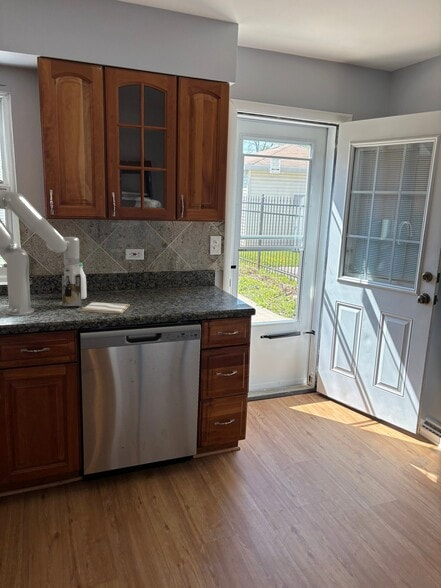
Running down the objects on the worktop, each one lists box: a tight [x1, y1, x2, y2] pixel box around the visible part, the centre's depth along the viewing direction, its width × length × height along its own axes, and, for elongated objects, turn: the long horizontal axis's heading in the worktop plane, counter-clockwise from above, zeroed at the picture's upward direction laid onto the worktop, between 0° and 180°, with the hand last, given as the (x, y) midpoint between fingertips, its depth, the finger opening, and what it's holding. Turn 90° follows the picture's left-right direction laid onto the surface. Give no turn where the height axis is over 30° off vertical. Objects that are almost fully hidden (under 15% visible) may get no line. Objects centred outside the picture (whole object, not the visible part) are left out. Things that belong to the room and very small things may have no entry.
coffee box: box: [61, 273, 82, 307], centre depth 217 cm, size 9×6×16 cm
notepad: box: [79, 301, 131, 315], centre depth 219 cm, size 17×21×1 cm
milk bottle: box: [79, 262, 87, 300], centre depth 235 cm, size 8×8×20 cm
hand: (71, 294), depth 218 cm, fingers closed on coffee box, 8 cm apart
